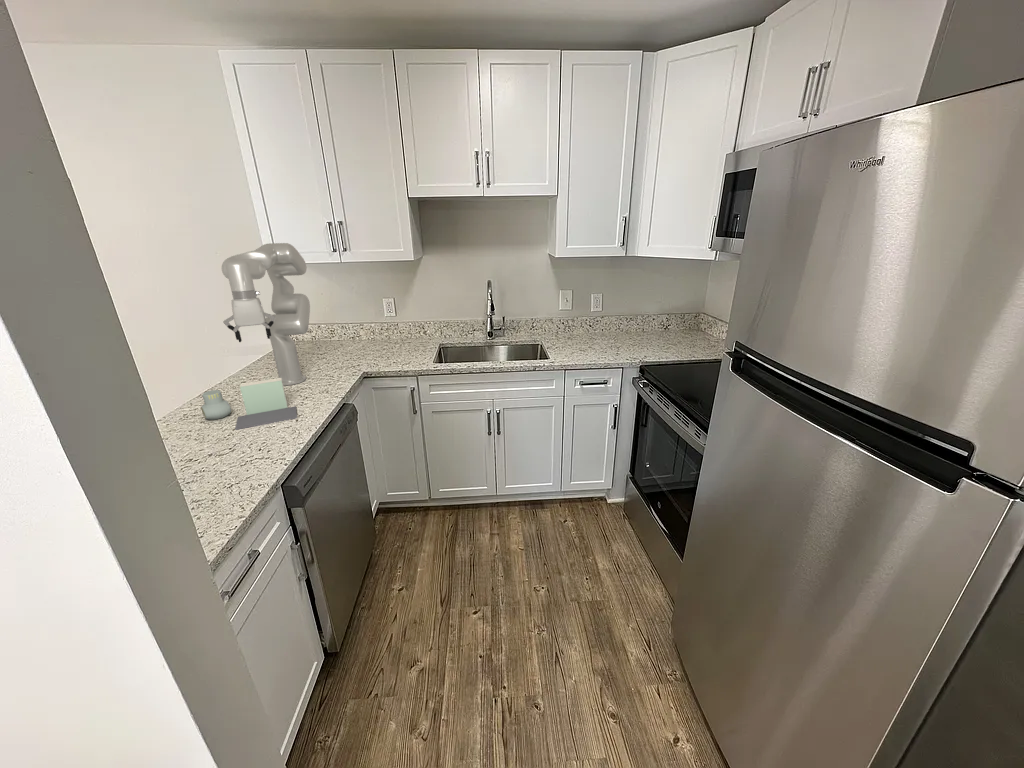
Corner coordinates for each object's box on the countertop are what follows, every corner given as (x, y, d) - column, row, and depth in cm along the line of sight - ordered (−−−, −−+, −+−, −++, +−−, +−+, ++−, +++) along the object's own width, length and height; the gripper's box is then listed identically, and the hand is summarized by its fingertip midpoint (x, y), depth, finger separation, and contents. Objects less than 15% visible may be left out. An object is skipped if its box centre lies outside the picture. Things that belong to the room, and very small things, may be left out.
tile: (248, 412, 166) (240, 383, 162) (287, 405, 172) (281, 377, 168) (247, 416, 163) (239, 387, 158) (287, 408, 169) (281, 380, 164)
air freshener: (202, 415, 164) (195, 391, 160) (227, 409, 169) (220, 386, 165) (208, 424, 156) (201, 399, 153) (234, 417, 162) (227, 393, 158)
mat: (238, 418, 161) (237, 416, 161) (296, 407, 169) (295, 406, 169) (235, 430, 151) (235, 428, 151) (297, 418, 160) (296, 416, 160)
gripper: (270, 292, 165) (279, 335, 171) (218, 296, 158) (229, 340, 164) (270, 294, 159) (279, 338, 165) (215, 298, 152) (227, 344, 157)
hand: (254, 339), depth 164 cm, fingers open, 9 cm apart
